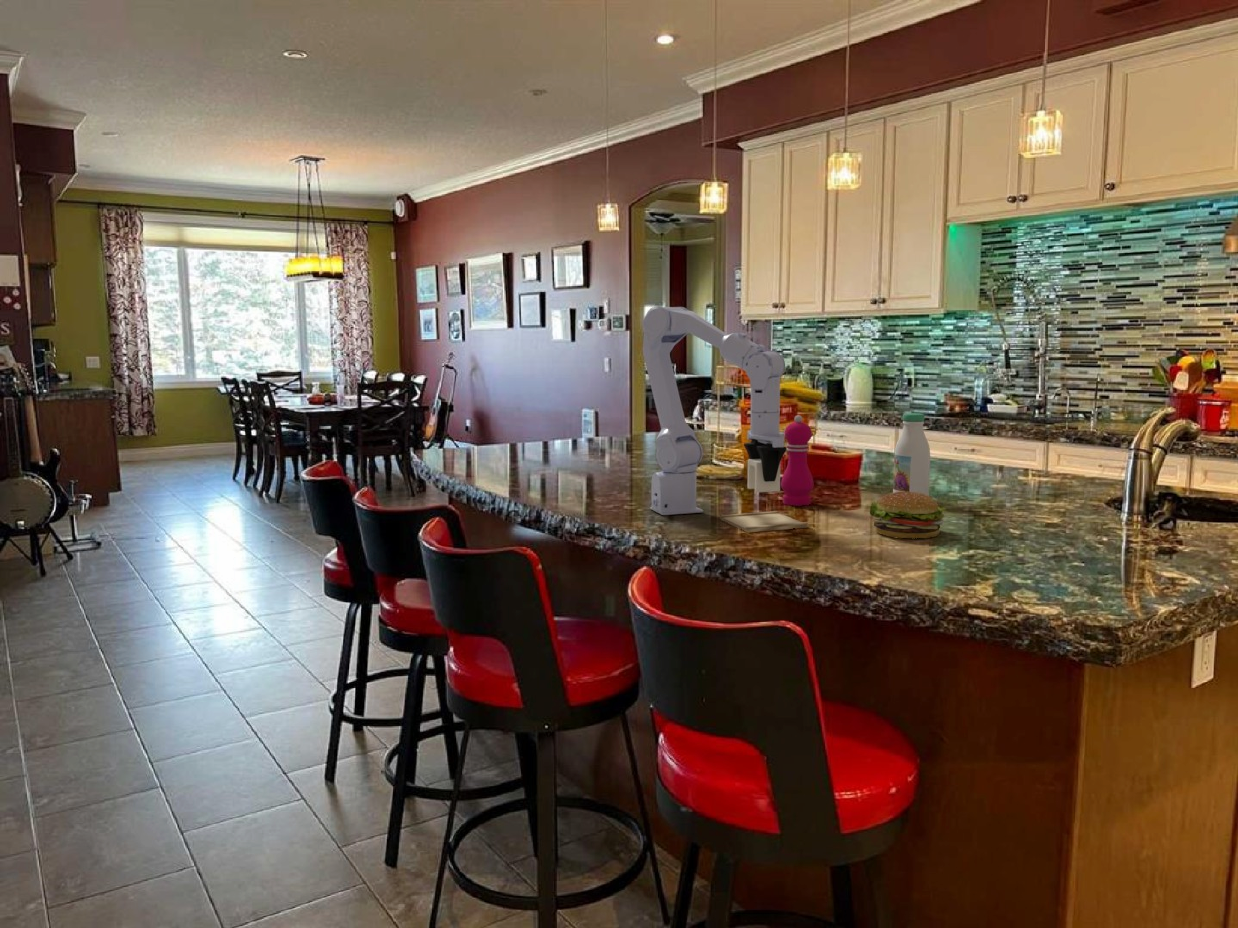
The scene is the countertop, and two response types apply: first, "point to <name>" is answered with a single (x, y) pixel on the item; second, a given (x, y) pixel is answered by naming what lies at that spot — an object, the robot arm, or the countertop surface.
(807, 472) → the pepper mill
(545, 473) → the countertop surface
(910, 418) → the milk bottle
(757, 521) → the plate
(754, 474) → the white block
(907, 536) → the food
